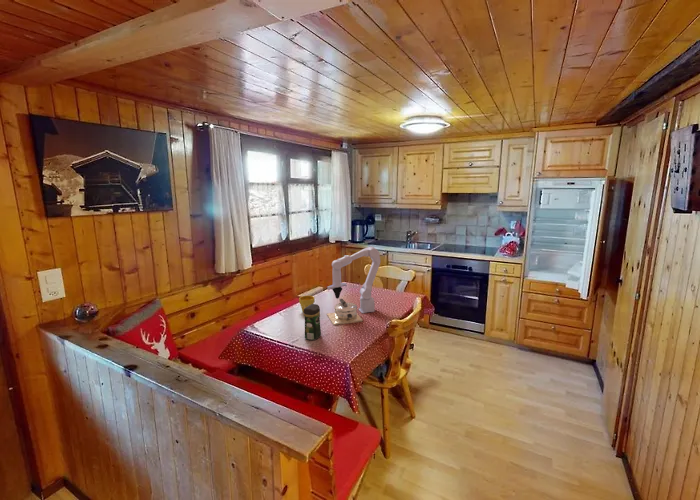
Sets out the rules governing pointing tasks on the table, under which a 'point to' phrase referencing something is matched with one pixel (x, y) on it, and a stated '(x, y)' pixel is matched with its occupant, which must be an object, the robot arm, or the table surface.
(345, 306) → the cooker lid
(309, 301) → the plant pot
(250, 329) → the table surface
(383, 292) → the table surface
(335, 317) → the tan square board
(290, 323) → the table surface
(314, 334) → the coffee jar
